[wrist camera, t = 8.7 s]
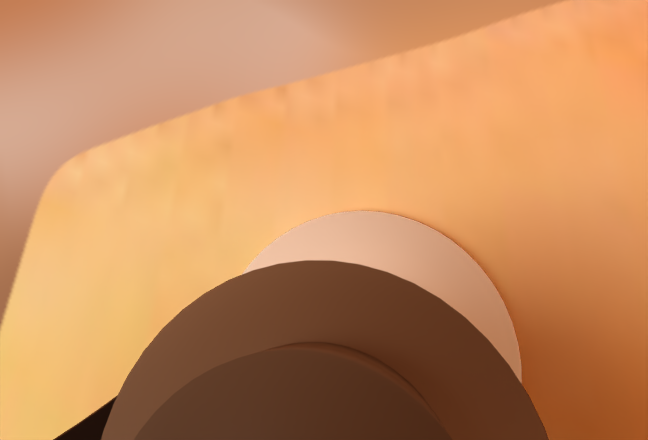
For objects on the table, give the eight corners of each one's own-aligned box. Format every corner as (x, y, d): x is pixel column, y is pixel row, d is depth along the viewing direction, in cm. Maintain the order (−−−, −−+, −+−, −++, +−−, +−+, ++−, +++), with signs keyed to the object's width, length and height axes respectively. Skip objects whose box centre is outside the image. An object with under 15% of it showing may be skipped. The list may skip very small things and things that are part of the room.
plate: (526, 539, 15) (536, 554, 14) (208, 507, 17) (198, 518, 16) (502, 216, 18) (509, 210, 18) (234, 215, 20) (227, 210, 19)
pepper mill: (440, 410, 15) (839, 969, 2) (318, 447, 15) (4, 1167, 2) (396, 286, 16) (477, 165, 3) (284, 322, 16) (-39, 338, 4)
